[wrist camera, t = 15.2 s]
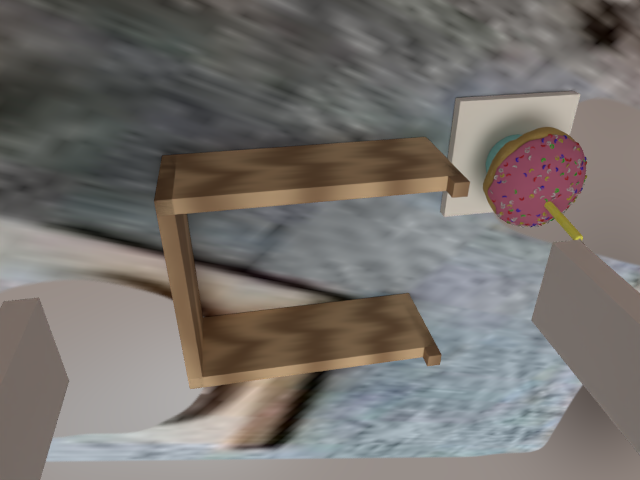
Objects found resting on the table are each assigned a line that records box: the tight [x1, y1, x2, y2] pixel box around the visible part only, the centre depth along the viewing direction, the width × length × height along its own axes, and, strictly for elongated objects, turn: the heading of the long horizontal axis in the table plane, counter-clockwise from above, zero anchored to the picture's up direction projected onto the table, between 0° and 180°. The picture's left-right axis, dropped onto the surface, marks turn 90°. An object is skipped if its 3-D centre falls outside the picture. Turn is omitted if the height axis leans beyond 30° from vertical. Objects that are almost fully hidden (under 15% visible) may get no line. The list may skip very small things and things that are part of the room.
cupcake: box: [483, 127, 587, 245], centre depth 42 cm, size 9×8×12 cm
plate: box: [440, 91, 580, 217], centre depth 48 cm, size 11×11×1 cm
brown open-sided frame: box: [154, 137, 470, 389], centre depth 45 cm, size 22×18×9 cm
